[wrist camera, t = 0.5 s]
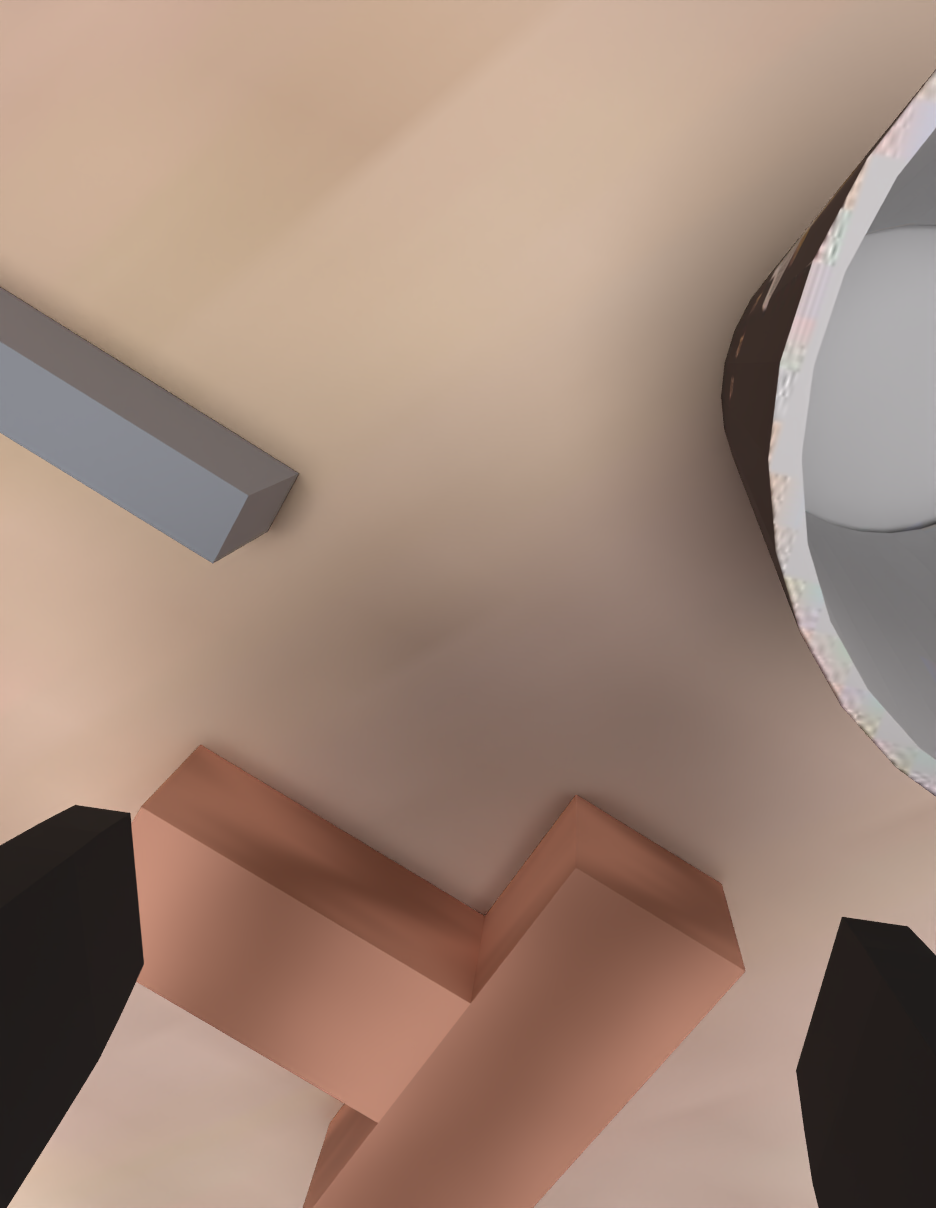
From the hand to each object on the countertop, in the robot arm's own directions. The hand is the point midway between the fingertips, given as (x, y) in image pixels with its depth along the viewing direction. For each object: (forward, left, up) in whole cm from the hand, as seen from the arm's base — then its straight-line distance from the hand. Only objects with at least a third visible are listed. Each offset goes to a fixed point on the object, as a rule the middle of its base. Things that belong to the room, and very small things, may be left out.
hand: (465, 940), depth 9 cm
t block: (-9, -1, -11) cm, 14 cm away
